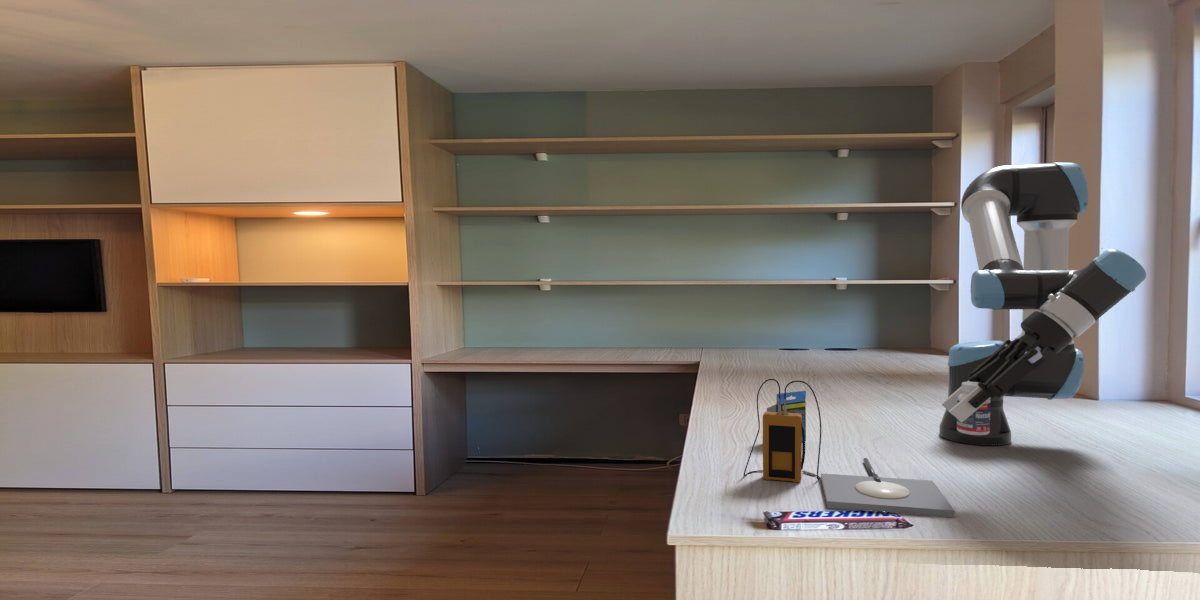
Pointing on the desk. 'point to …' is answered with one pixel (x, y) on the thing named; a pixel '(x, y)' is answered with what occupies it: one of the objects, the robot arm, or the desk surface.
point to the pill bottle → (974, 414)
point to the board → (885, 494)
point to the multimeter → (783, 443)
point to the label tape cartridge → (792, 405)
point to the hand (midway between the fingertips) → (951, 412)
